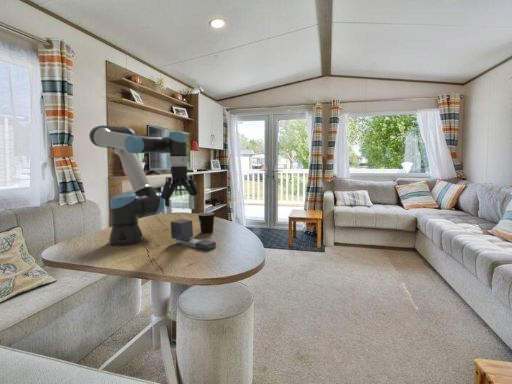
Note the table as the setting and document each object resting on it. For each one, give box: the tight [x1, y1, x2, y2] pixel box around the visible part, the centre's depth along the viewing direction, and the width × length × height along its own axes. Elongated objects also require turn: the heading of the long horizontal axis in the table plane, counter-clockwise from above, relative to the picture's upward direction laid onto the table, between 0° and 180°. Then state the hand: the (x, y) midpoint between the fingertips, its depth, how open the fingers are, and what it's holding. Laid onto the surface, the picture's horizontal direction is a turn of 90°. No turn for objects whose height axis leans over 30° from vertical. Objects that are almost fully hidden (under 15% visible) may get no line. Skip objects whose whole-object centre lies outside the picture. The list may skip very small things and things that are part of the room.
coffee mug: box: [197, 212, 215, 234], centre depth 158 cm, size 12×9×10 cm
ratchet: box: [175, 237, 217, 252], centre depth 133 cm, size 22×6×6 cm, turn 56°
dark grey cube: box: [170, 218, 194, 240], centre depth 137 cm, size 7×7×8 cm
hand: (180, 211), depth 136 cm, fingers open, 13 cm apart
